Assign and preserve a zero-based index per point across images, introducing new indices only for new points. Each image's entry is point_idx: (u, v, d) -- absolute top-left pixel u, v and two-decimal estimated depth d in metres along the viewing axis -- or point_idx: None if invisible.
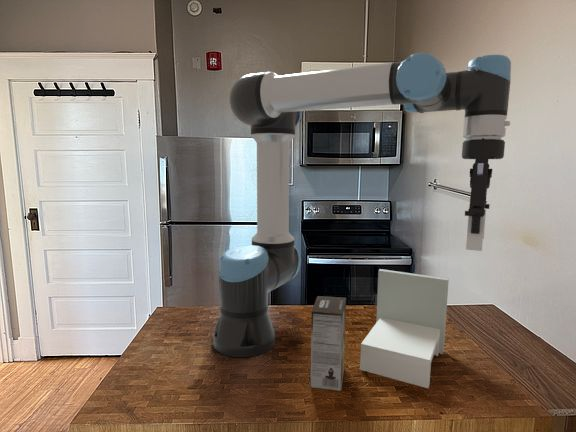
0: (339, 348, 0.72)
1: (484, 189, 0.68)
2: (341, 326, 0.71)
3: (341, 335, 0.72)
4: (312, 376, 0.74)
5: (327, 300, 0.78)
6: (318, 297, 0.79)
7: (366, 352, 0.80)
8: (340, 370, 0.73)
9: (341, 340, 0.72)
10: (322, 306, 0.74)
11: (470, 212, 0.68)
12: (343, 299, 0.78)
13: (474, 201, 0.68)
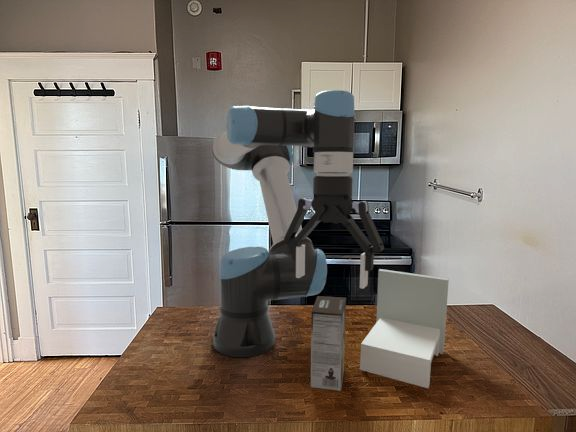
0: (339, 348, 0.72)
1: (292, 221, 0.76)
2: (341, 326, 0.71)
3: (341, 335, 0.71)
4: (312, 376, 0.74)
5: (327, 300, 0.78)
6: (318, 297, 0.79)
7: (366, 352, 0.80)
8: (340, 370, 0.73)
9: (341, 340, 0.72)
10: (322, 306, 0.74)
11: None
12: (343, 299, 0.78)
13: None
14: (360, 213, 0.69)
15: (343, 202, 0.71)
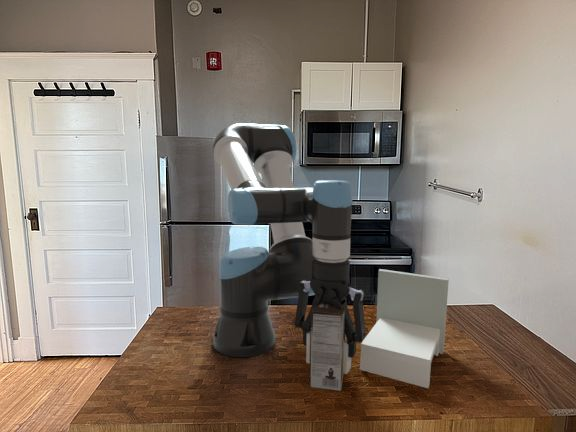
0: (339, 348, 0.72)
1: None
2: (341, 326, 0.71)
3: (341, 335, 0.71)
4: (312, 376, 0.74)
5: None
6: None
7: (366, 352, 0.80)
8: (340, 370, 0.73)
9: (341, 340, 0.72)
10: (322, 306, 0.74)
11: None
12: None
13: None
14: (354, 302, 0.72)
15: (342, 286, 0.73)
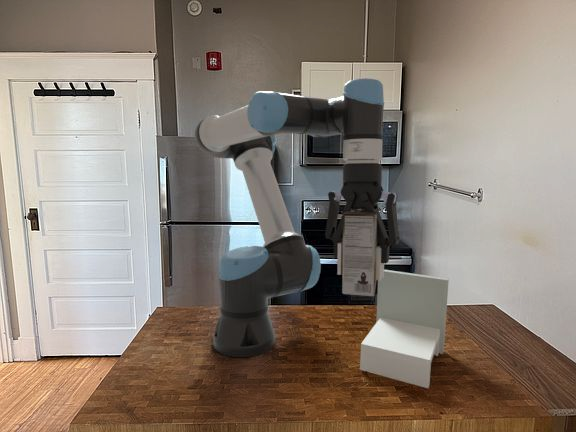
0: (372, 250, 0.70)
1: (328, 216, 0.77)
2: (374, 227, 0.70)
3: (374, 237, 0.70)
4: (344, 282, 0.72)
5: (359, 209, 0.76)
6: None
7: (366, 352, 0.80)
8: (373, 274, 0.71)
9: (374, 242, 0.70)
10: (353, 211, 0.73)
11: None
12: None
13: None
14: (387, 204, 0.70)
15: (374, 188, 0.71)
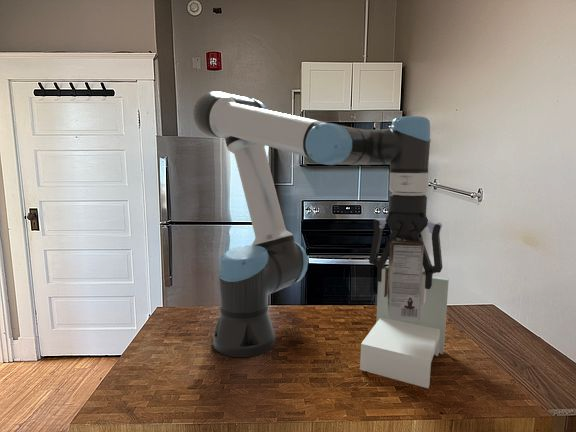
0: (419, 278, 0.75)
1: (372, 243, 0.81)
2: (422, 256, 0.74)
3: (421, 265, 0.74)
4: (391, 306, 0.77)
5: None
6: None
7: (366, 352, 0.80)
8: (419, 300, 0.75)
9: (421, 270, 0.75)
10: (400, 240, 0.77)
11: None
12: None
13: None
14: (433, 234, 0.75)
15: (420, 219, 0.76)
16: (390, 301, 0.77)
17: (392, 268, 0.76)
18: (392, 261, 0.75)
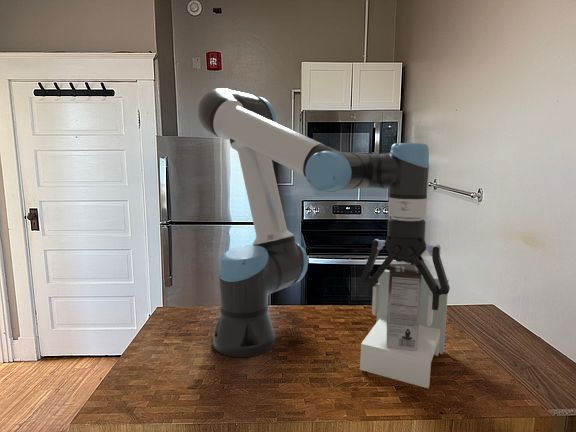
0: (417, 309, 0.76)
1: (367, 261, 0.82)
2: (420, 288, 0.75)
3: (419, 297, 0.75)
4: (389, 336, 0.78)
5: (402, 266, 0.81)
6: (391, 264, 0.83)
7: (366, 352, 0.80)
8: (417, 331, 0.76)
9: (419, 302, 0.75)
10: (399, 271, 0.78)
11: None
12: None
13: None
14: (433, 257, 0.75)
15: (418, 244, 0.77)
16: (388, 331, 0.78)
17: (390, 299, 0.77)
18: (390, 292, 0.76)
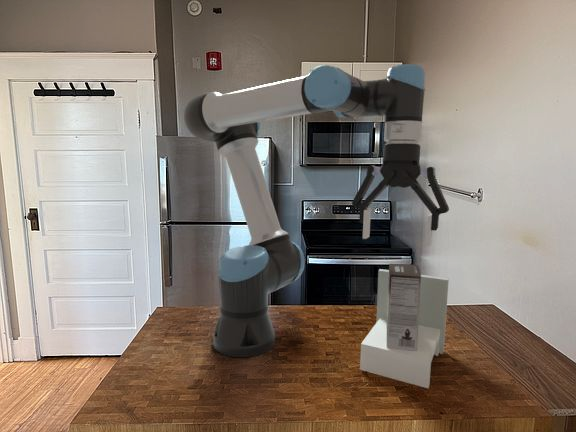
0: (416, 309, 0.76)
1: None
2: (419, 288, 0.75)
3: (418, 297, 0.75)
4: (389, 337, 0.78)
5: (401, 266, 0.81)
6: (391, 264, 0.83)
7: (366, 352, 0.80)
8: (416, 331, 0.76)
9: (418, 302, 0.75)
10: (398, 271, 0.78)
11: None
12: (416, 266, 0.82)
13: None
14: (428, 177, 0.76)
15: (412, 167, 0.78)
16: (388, 331, 0.78)
17: (390, 299, 0.77)
18: (390, 292, 0.76)
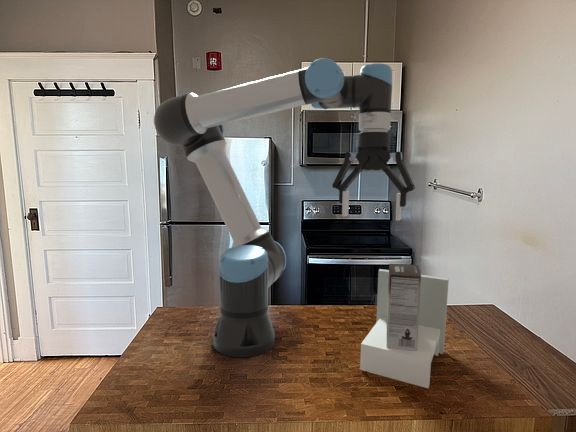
0: (416, 309, 0.76)
1: None
2: (419, 288, 0.75)
3: (418, 297, 0.75)
4: (389, 337, 0.78)
5: (401, 266, 0.81)
6: (391, 264, 0.83)
7: (366, 352, 0.80)
8: (416, 331, 0.76)
9: (418, 302, 0.75)
10: (398, 271, 0.78)
11: None
12: (416, 266, 0.82)
13: None
14: (396, 160, 0.88)
15: (383, 152, 0.90)
16: (388, 331, 0.78)
17: (390, 299, 0.77)
18: (390, 292, 0.76)
